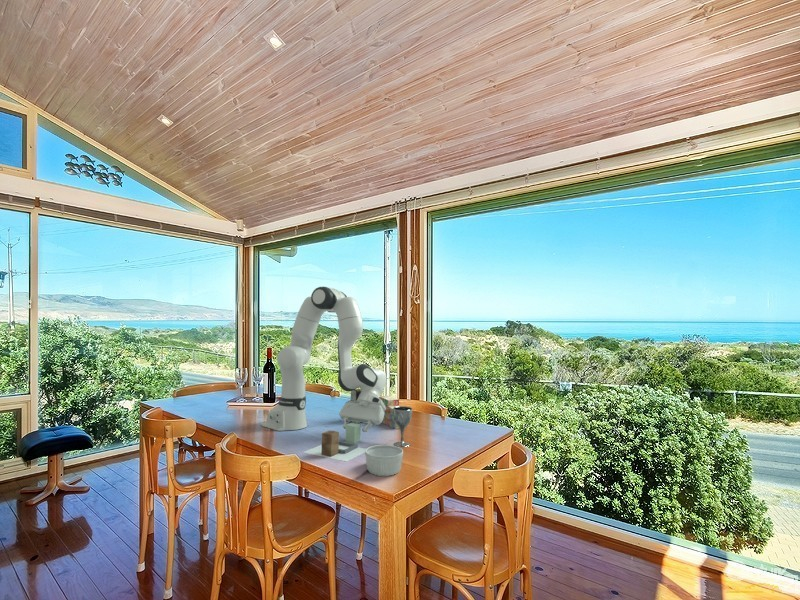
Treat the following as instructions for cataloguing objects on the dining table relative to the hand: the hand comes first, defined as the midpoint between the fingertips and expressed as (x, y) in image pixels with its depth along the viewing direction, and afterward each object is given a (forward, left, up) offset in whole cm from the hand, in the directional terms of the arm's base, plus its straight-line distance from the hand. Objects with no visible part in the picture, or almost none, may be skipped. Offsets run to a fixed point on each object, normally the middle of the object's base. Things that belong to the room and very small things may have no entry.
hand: (354, 429), depth 171 cm
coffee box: (-18, +33, -6) cm, 38 cm away
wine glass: (+18, +9, -6) cm, 21 cm away
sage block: (0, -1, -6) cm, 6 cm away
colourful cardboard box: (-2, +38, -6) cm, 38 cm away
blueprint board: (+2, -15, -6) cm, 16 cm away
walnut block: (+2, -19, -4) cm, 20 cm away
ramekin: (+26, -21, -6) cm, 34 cm away
